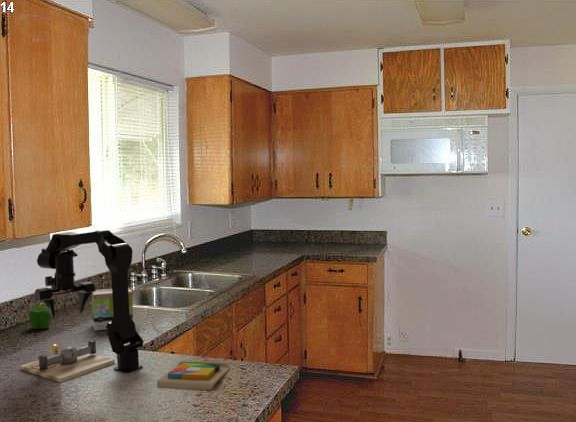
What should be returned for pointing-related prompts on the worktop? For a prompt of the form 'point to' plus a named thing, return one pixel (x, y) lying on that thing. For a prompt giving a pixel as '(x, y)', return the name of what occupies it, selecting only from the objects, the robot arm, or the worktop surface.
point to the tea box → (105, 308)
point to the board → (70, 367)
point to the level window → (41, 370)
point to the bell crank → (65, 355)
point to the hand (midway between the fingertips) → (67, 315)
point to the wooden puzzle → (194, 375)
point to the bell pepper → (40, 317)
